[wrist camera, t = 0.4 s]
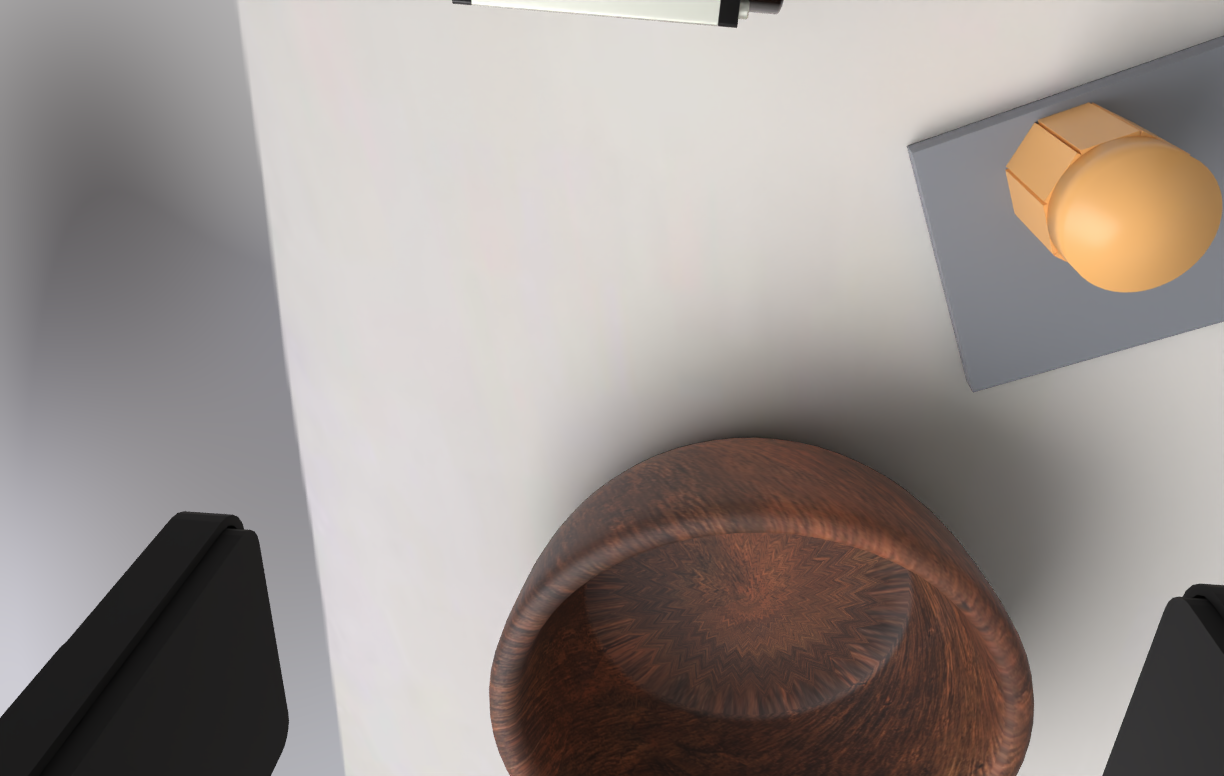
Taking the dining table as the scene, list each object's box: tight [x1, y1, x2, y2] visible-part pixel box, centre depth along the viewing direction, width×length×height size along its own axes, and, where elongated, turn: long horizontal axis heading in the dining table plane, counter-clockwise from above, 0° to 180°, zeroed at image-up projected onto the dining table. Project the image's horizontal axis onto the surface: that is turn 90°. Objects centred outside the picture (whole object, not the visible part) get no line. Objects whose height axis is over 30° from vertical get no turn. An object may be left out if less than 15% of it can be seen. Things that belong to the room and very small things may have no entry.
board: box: [907, 36, 1224, 392], centre depth 39 cm, size 12×18×6 cm, turn 112°
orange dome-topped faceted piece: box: [1005, 102, 1222, 292], centre depth 37 cm, size 5×5×7 cm
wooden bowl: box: [489, 438, 1034, 776], centre depth 49 cm, size 25×25×10 cm
